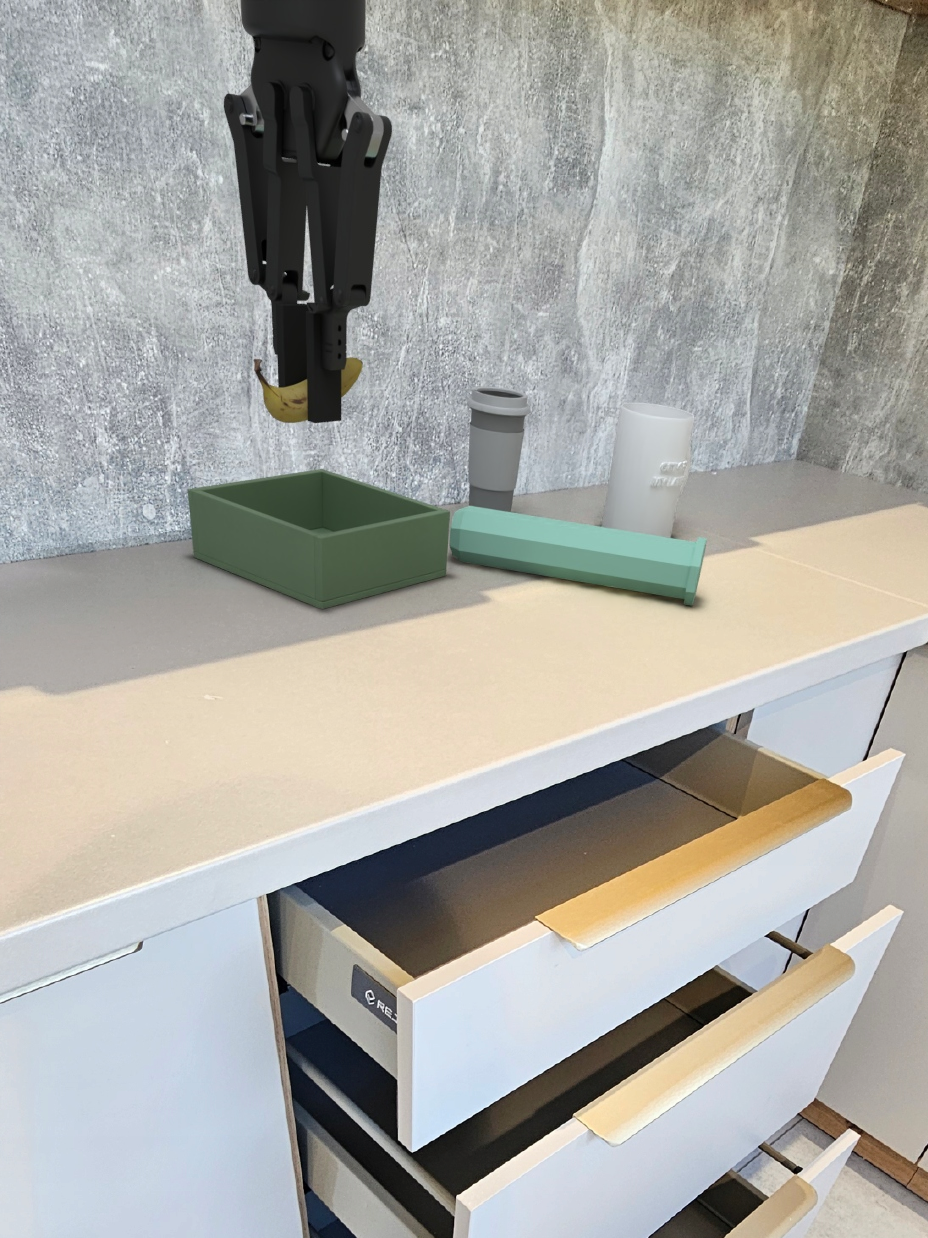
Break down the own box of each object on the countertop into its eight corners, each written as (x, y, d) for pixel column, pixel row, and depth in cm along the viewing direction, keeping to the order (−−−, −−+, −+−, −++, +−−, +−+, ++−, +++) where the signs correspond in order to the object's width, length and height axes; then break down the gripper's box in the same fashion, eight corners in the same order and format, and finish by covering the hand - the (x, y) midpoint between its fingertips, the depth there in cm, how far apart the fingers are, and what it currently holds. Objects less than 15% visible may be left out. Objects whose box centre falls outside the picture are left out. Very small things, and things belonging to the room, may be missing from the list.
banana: (348, 414, 79) (349, 352, 77) (370, 420, 78) (370, 358, 75) (246, 422, 73) (243, 355, 70) (268, 429, 72) (265, 362, 69)
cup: (452, 509, 114) (460, 383, 106) (508, 512, 116) (520, 387, 108) (467, 528, 109) (477, 396, 101) (526, 530, 111) (540, 401, 103)
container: (447, 490, 96) (707, 532, 93) (461, 504, 101) (706, 544, 98) (438, 559, 98) (692, 601, 95) (452, 569, 103) (692, 609, 100)
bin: (193, 557, 92) (187, 489, 89) (322, 531, 103) (321, 468, 99) (322, 609, 86) (321, 538, 82) (446, 576, 96) (450, 511, 92)
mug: (703, 535, 117) (730, 414, 109) (645, 549, 110) (669, 421, 102) (646, 517, 121) (668, 399, 113) (587, 529, 114) (605, 404, 106)
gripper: (167, -68, 60) (203, 397, 76) (350, -60, 54) (347, 444, 70) (263, -42, 65) (277, 391, 81) (441, -31, 59) (419, 436, 75)
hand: (310, 415), depth 75 cm, fingers closed on banana, 2 cm apart
